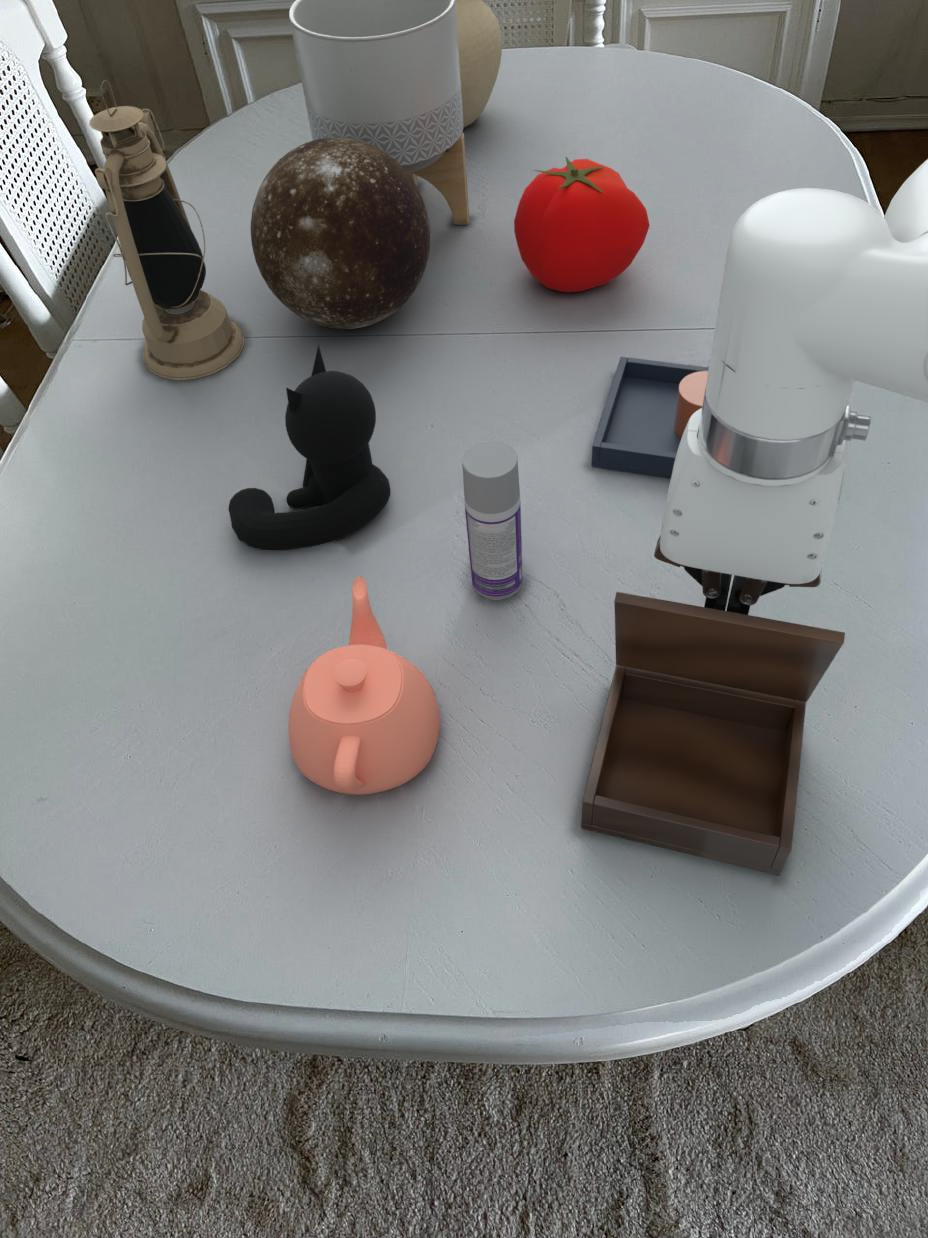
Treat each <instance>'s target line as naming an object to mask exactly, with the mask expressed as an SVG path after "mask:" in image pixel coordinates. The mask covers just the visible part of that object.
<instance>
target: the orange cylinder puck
mask: <svg viewBox="0 0 928 1238" xmlns="http://www.w3.org/2000/svg"><path fill="white" fill-rule="evenodd" d="M707 376H708V371H699V372H694V373H691V374H689V375H687V376H686V377H684V378H683V379H682V380H681V382H680V384H679V388H678V395H677V403H676V411H675V418H674V431H675V433H676V435H677V436H678V437H679V438H680V439H681V438H682V436H683V433H684V430H685V428H686V426H687V423H688V421H689V419H690V417H691V416H692V415H693V414H694V413H695V412H696V411H697V410H699V409H701V408H702V407H703V400H704V394H705V389H706V382H707Z"/></svg>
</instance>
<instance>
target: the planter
mask: <svg viewBox="0 0 928 1238" xmlns="http://www.w3.org/2000/svg"><path fill="white" fill-rule="evenodd" d="M288 15H289V17H288V18H289V23H290V28H291V33H292V39H293V43H294V49H295V56H296V60H297V65H298V70H299V74H300V81H301V87H302V91H303V96H304V103H305V108H306V113H307V119H308V124H309V129H310V134H311V135H310V136H311V141H314V140H318V139H322V138H332V137H342V138H351V139H355V140H359V141H363V142H366V143H368V144H371V145H373V146H375V147H377V148H379V149H380V150H382V151H384V152H385V153H387V154H388V155H390V156H391V157H392V158H393V159H395V160H396V161H397V162H398V163H399V164H400V165H401V166H402V167H403V168H404V169H405V170H406V172H407V173H408V174H409V175H410V177H411V178H412V180H413V181H414V183H415V184H416V186H417V187H418V186H419V179H418V177H419V178H422V179H424V180H425V181H427V182H428V183H429V184H430V185H432V186H433V187H434V188H435V189H436V190H437V191H438V192H439V193H440V194H441V195H442V196H443V198H444V200H445V201H446V203H447V205H448V208H449V210H450V212H451V215H452V219H453V224H454V225H458V226H459V225H463V226H467V225H469V223H470V208H469V207H470V205H469V204H470V203H469V187H468V176H467V175H468V174H467V173H468V172H467V159H466V145H465V133H464V132H463V131H464V128H463V109H462V94H461V78H460V63H459V48H458V33H457V17H456V2H455V0H295V1H294V2H293V3H292V4H291V6H290V8H289V12H288Z"/></svg>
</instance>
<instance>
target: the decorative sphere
mask: <svg viewBox="0 0 928 1238" xmlns="http://www.w3.org/2000/svg"><path fill="white" fill-rule="evenodd" d="M250 239H251V240H250V241H251V247H252V252H253V257H254V260H255V263H256V266H257V268H258V270H259V272H260V275H261V278H262V279H263V280H264V282H265V284H266V285H267V287H268V288H269V290H270V292H271V293H272V295H274V296H275V297H276V299H277V300H278V301H279V302H280V303H281V304H282V305H283V306H284V307H286V308H287V309H288V310H290V311H291V312H292V313H294V315H297V316H298V317H300V318H302V319H304V320H305V321H308V322H310V323H311V324H314V325H318V326H321V327H324V328H328V329H335V330H337V329H338V330H353V329H354V330H355V329H360V328H361V329H362V328H365V327H368V326H372V325H374V324H377V323H379V322H382V321H384V320H385V319H387V318H389V317H390V316H391V315H393V314H394V313H396V312H397V311H399V310H400V309H401V308H402V307H403V306H404V305H405V304H406V303H407V302H408V301H409V299H410V298H411V296H412V295H413V294H414V293H415V291H416V289H417V288H418V286H419V284H420V283H421V280H422V278H423V276H424V273H425V271H426V268H427V264H428V261H429V257H430V251H431V250H430V249H431V226H430V219H429V214H428V210H427V206H426V203H425V201H424V198H423V196H422V194H421V192H420V190H419V187H418V186H416V184H415V183H414V181H413V180H412V178H411V177H410V175H409V174H408V173H407V172H406V170H405V169H404V168H403V167H402V166H401V165H400V164H399V163H398V162H397V161H396V160H395V159H393V158H392V157H391V156H390V155H388V154H387V153H385V152H384V151H382V150H380V149H379V148H377V147H375V146H373V145H371V144H368V143H366V142H363V141H359V140H355V139H351V138H342V137H332V138H322V139H318V140H314V141H313V140H311V141H308V142H305V143H302V144H300V145H299V146H296V147H295V148H293V149H291V150H290V151H289V152H287V153H285V154H284V155H283V156H282V157H281V158H279V160H277V161H276V163H274V165H273V166H272V167H271V169H270V170H269V171H268V173H267V174H266V175H265V176H264V178H263V180H262V182H261V184H260V186H259V187H258V190H257V193H256V195H255V198H254V201H253V206H252V210H251V218H250Z"/></svg>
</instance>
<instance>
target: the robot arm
mask: <svg viewBox="0 0 928 1238" xmlns="http://www.w3.org/2000/svg"><path fill="white" fill-rule="evenodd" d="M718 301H719V302H718V307H717V314H716V319H715V320H716V321H715V326H714V333H713V339H712V346H711V352H710V358H709V363H708V367H709V369H708V376H707V382H706V389H705V394H704V400H703V407H702V408H701V409H699V410H697V411H696V412H695V413H694V414H693V415H692V416H691V417H690V419H689V421H688V423H687V426H686V428H685V430H684V433H683V436H682V438H681V441H680V444H679V447H678V451H677V454H676V458H675V462H674V466H673V471H672V476H671V479H670V480H669V484H668V490H667V496H666V500H665V505H664V511H663V515H662V521H661V529H660V534H659V537H658V539H657V542H656V545H655V549H654V554H653V556H654V558H655V559H656V560H658V561H660V562H663V563H666V564H669V565H672V566H674V567H678V568H680V567H681V568H683V569H684V571H685V572H686V573H687V574H688V575H689V576H690V577H691V578H693V580H695V581H696V582H697V583H698V584H699V585H700V586H701V589H702V595H703V596H704V597H705V600H704V606H703V607H706V608H711V609H717V610H722V611H728V612H734V613H739V614H745V615H749V613H750V609H751V606H754V605H755V604H756V603H757V602H758V601H759V599H760V597H762V596H766V595H767V594H770V593H773V592H776V591H779V590H780V589H783V588H785V586H788V587H790V588H817V587H819V586H820V585H821V584H822V583H821V582H822V576H823V575H822V574H823V566H824V564H825V560H826V557H827V553H828V549H829V547H830V544H831V539H832V535H833V531H834V527H835V522H836V518H837V514H838V510H839V505H840V499H841V494H842V488H843V483H844V482H843V481H844V476H845V471H846V464H847V449H848V448H847V441H848V442H851V441H852V440H856V441H857V440H858V441H862V442H863V441H864V442H865V441H866V440H867V438H868V434H869V432H870V427H871V420H872V417H871V416H870V415H863V414H858V412H857V411H851V405H849V400H850V397H851V394H852V390H853V388H854V384H855V381H857V382H860V383H863V384H865V385H866V384H867V385H870V386H873V387H876V388H879V389H883V390H886V391H888V392H891V393H894V394H898V395H901V396H903V397H906V398H907V397H908V398H910V399H913V400H918V401H921V402H925V403H928V158H927V159H926V160H924V162H923V163H921V164H920V165H919V166H918V167H917V168H916V169H915V170H914V171H913V172H912V173H911V174H910V175H909V176H908V177H907V178H906V179H905V181H904V182H903V183H902V185H901V186H900V187H899V189H898V190H897V192H896V193H895V194H894V196H893V197H892V199H891V200H890V202H889V206H888V207H887V209H886V212H885V214H884V216H883V215H882V213H881V212H880V211H878V210H877V209H876V208H875V207H874V206H872V204H870V203H869V202H867V201H865V200H863V199H861V198H859V197H857V196H855V195H853V194H850V193H847V192H843V191H839V190H836V189H835V190H834V189H830V188H829V189H828V188H821V187H801V188H791V189H786V190H785V189H784V190H781V191H777V192H774V193H771V194H769V195H767V196H764V197H763V198H760V199H758V200H757V201H755V202H753V204H752V205H750V206H749V207H748V208H746V210H745V211H744V212H743V213H742V214H741V215H740V217H739V218H738V220H737V221H736V223H735V225H734V227H733V230H732V231H731V234H730V237H729V242H728V246H727V251H726V256H725V262H724V268H723V275H722V281H721V289H720V294H719V300H718ZM732 578H733V579H732ZM731 582H732V583H731Z"/></svg>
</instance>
